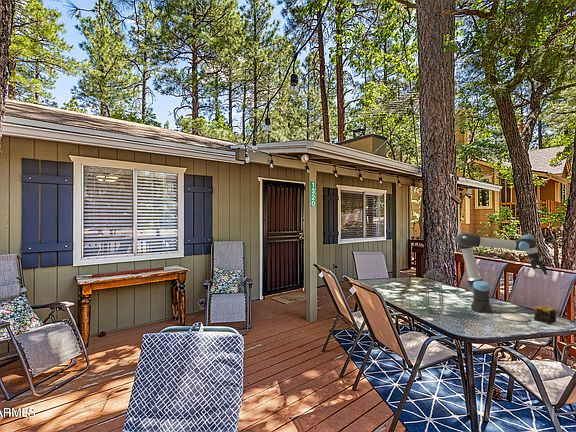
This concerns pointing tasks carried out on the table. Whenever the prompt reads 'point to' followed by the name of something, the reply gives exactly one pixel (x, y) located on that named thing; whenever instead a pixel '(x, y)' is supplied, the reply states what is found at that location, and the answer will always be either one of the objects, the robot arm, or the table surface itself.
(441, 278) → the geometric lantern
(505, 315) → the saucer
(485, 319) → the table surface
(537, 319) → the mossy brown cube
